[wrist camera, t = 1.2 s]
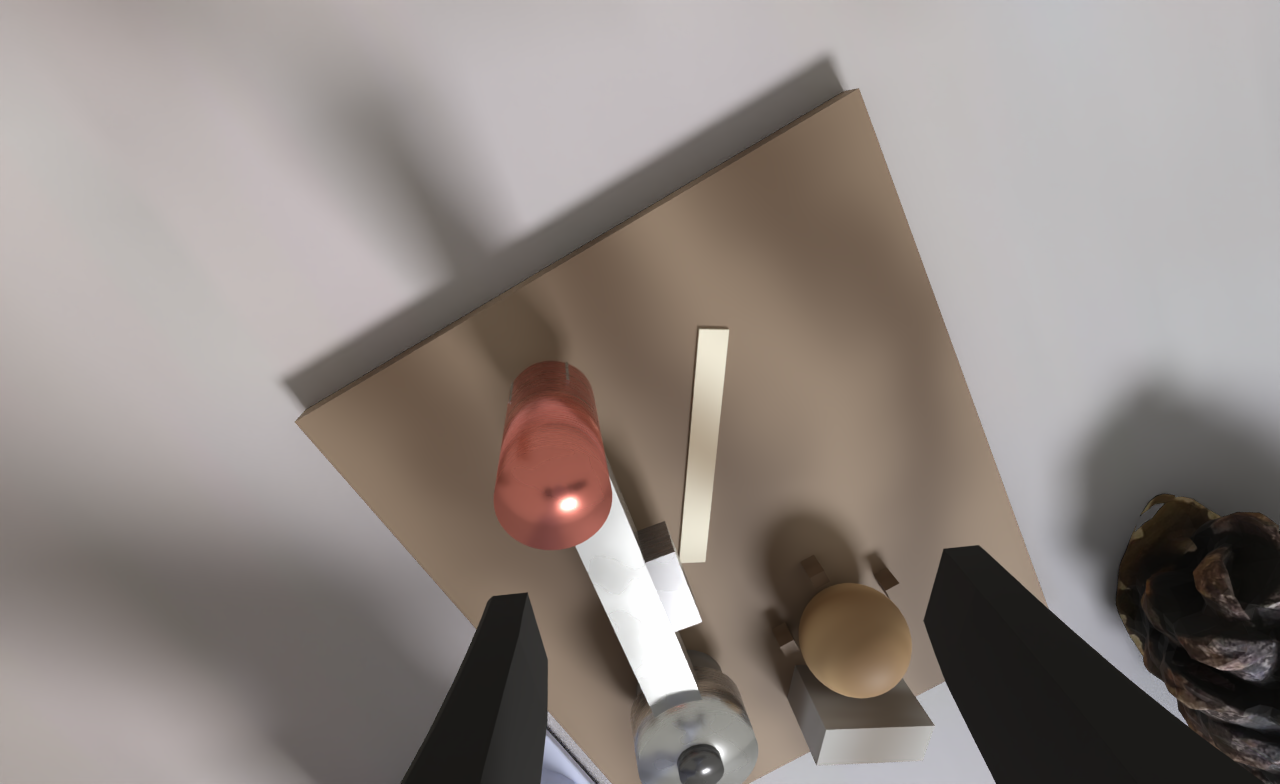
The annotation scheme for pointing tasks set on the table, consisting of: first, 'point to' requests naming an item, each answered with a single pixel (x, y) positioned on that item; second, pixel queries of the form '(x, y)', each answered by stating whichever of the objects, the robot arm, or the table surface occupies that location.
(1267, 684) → the pine cone
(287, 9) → the table surface
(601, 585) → the lever
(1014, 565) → the base
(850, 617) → the tan round ball
